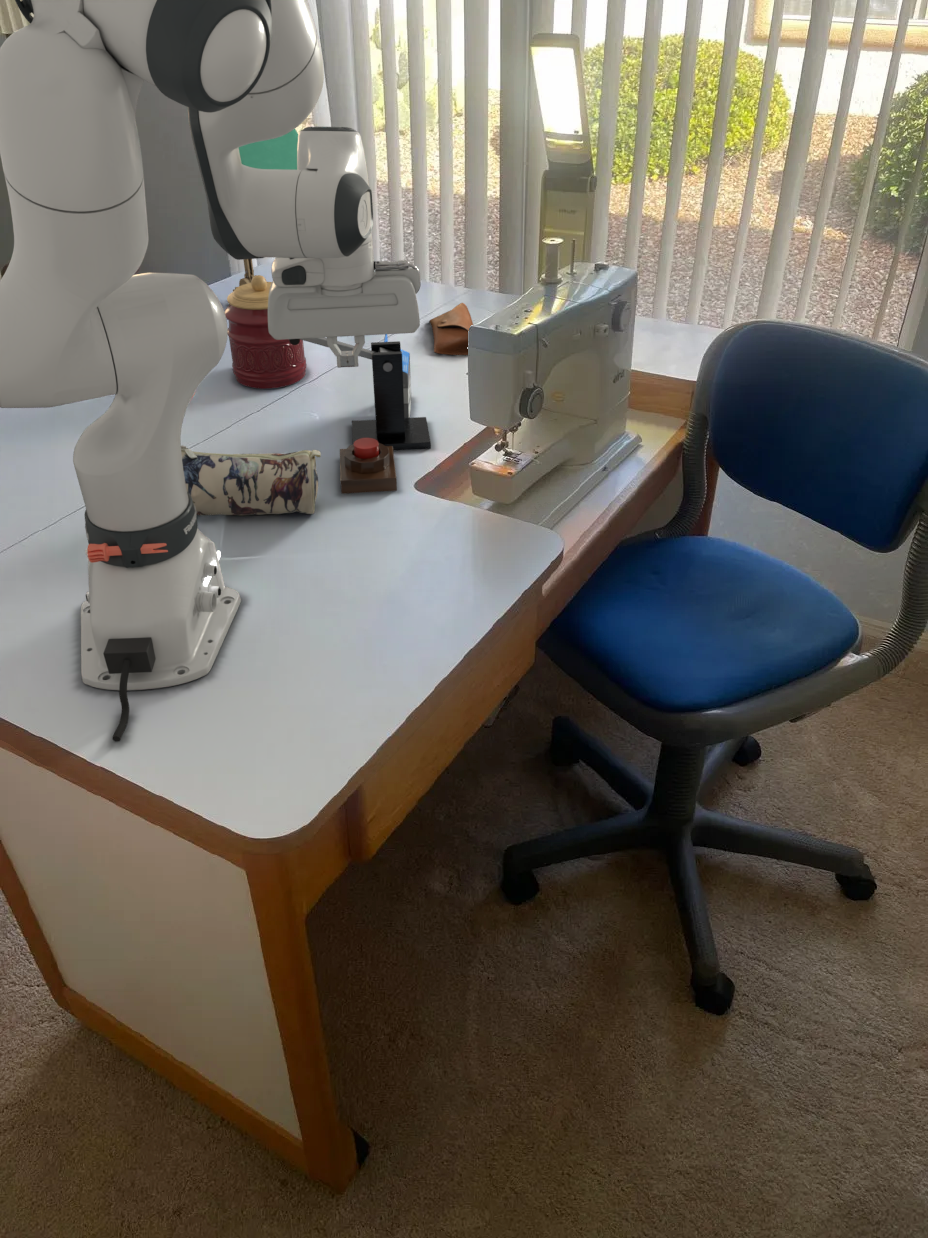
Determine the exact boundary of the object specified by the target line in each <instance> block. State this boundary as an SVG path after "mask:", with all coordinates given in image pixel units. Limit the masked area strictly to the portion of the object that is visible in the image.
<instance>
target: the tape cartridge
mask: <svg viewBox="0 0 928 1238" xmlns="http://www.w3.org/2000/svg"><path fill="white" fill-rule="evenodd" d="M388 337H389V336H388V334H384V337H383V338H384V339H383V342H389V339H388ZM401 352H402V366H403V391H404V415H405V418H411V411H412V410H411V409H412V381H411V379H412V376H411V353H410V352H409V351H406V350H404V349H402V348H401Z"/></svg>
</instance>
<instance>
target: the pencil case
mask: <svg viewBox="0 0 928 1238" xmlns="http://www.w3.org/2000/svg"><path fill="white" fill-rule="evenodd" d="M181 453H182V463H183V471H184V477H185V483H186V489H187V492H188V493H189V494H190V495H191V497H192V500H193V503H194V506H195V508H196V513H197V514H196V515H197V516H217V515H220V516H221V515H222V516H253V515H257V516H261V515H281V514H293V513H295V512H297V513H300V514H304V515H314V514H315V511H316V510H315V509H316V501H317V499H318V498H317V497H318V491H319V475H318V472H317V462H316V461H317V460H316V457H317V458H321V455H322V453H321V452H320V451H319V450H317V449H312V450H310V449H304V450H299V451H293V452H287V453H277V452H276V453H275V452H274V453H273V452H272V453H270V452H269V453H216V452H215V453H214V452H202V451H194V450H192V449H190V448H189V447H187V446H186V445H182V444H181Z"/></svg>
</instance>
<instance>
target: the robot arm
mask: <svg viewBox="0 0 928 1238" xmlns="http://www.w3.org/2000/svg"><path fill="white" fill-rule="evenodd" d="M14 1H15V3H16V5H17V8H18V9H19V11H20V13H21V15H23V17H24V18H25V20H26V21H27V22H28V23H29V24H28V25H25V26H24V27H21V28H19V29H17V30H15V31H14V32H12V33H11V34H10V35H9V36H8V37H7V38H5V40H4V41H3V43H2V45H0V159H1V166H2V171H3V175H4V180H5V185H6V189H7V195H8V199H9V205H10V206H9V207H10V213H11V220H12V230H13V250H12V254H11V258H10V261H9V263H8V266H7V268H6V270H5V272H4V274H3V275H2V277H1V279H0V408H1V409H46V408H47V409H48V408H49V409H50V408H55V407H60V406H65V405H68V404H74V403H79V402H84V401H89V400H94V399H98V398H103V397H108V396H109V397H110V396H113V395H114V398H113V400H112V402H111V404H110V406H109V407H108V408H107V410H106V411H105V412H104V413H103V414H101V416H99V417H98V418H96V419H95V420H94V421H93V422H92V423H90V424H89V425H88V426H87V427H86V428H85V429H84V430H83V431H82V433H81V434H80V436H79V438H78V439H77V442H76V444H75V446H74V449H73V455H72V463H73V467H74V470H75V474H76V479H77V481H78V486H79V489H80V492H81V496H82V500H83V503H84V506H85V507H84V508H85V511H84V522H85V523H84V529H85V530H84V531H85V536H86V538H87V542H88V545H87V548H86V549H85V550H84V553H85V556H86V560H87V575H88V591H86V593H85V600H84V601H83V602H82V603H81V605H80V672H81V673H80V675H81V680H82V683H83V684H85V685H86V686H89V687H92V688H96V689H100V690H107V691H118V693H119V701H120V706H121V715H120V719H119V723H118V725H117V727H116V728H115V731H114V733H113V735H112V740H113V741H114V742H115V743H118V742H120V741H121V739H122V736H123V734H124V732H125V730H126V728H127V725H128V722H129V718H130V702H129V698H128V691H141V690H143V691H144V690H151V689H152V690H153V689H162V688H168V687H169V688H170V687H173V686H179V685H182V684H187V683H190V682H192V681H195V680H198V679H200V678H203V677H205V676H207V674H209V673H210V672H211V670H212V667H213V665H214V663H215V662H216V659H217V657H218V655H219V652H220V650H221V648H222V645H223V644H224V641H225V638H226V637H227V635H228V632H229V630H230V627H231V625H232V623H233V621H234V618H235V616H236V614H237V612H238V610H239V608H240V605H241V603H242V598H241V595H240V592H239V591H237V590H236V589H234V588H232V587H228V586H226V585H225V580H224V576H223V573H222V568H221V565H220V558H221V556H222V555H221V551H220V550H217V548H216V544H215V542H214V541H213V540H211V539H210V538H209V537H207V536H206V535H205V534H204V533H203V532H202V531H200V529H199V528H198V527H199V524H198V518H197V516H198V515H196V514H197V513H196V508H195V506H194V503H193V500H192V497H191V495H190V494H189V493H188V492H187V489H186V483H185V477H184V471H183V463H182V453H181V446H182V442H181V441H182V440H181V437H182V429H183V428H182V427H183V423H184V419H185V415H186V412H187V409H188V407H189V405H190V402H191V399H192V398H193V396H194V394H195V392H196V390H197V389H198V388H199V386H200V384H201V383H202V382H203V381H204V379H205V378H206V376H207V375H209V373H210V372H212V370H214V368H215V367H217V365H218V364H219V363H220V361H221V360H222V357H223V355H224V353H225V350H226V347H227V342H228V328H229V327H228V319H227V318H226V316H225V312H224V311H225V309H224V307H223V305H222V303H221V301H220V299H219V297H218V296H217V295H216V293H215V292H214V290H213V289H212V288H211V287H210V286H209V285H208V283H206V282H205V281H203V280H202V279H201V278H199V277H198V276H197V275H195V274H189V273H188V274H187V273H174V272H143V273H138V274H137V271H138V270H139V268H140V267H141V265H142V263H143V261H144V259H145V256H146V254H147V250H148V246H149V225H148V214H147V203H146V202H147V199H146V190H145V176H144V165H143V164H144V163H143V156H142V149H141V142H140V141H141V140H140V135H139V131H138V126H137V122H136V121H137V120H136V113H137V106H138V101H139V97H140V93H141V90H142V87H143V85H144V82H147V83H149V84H151V85H152V86H153V87H156V88H157V90H158V91H159V92H160V93H162V95H164V96H165V97H167V99H170V100H172V101H174V102H175V103H177V104H180V105H182V106H183V107H186V108H187V117H188V125H189V129H190V130H189V131H190V135H191V140H192V146H193V149H194V153H195V157H196V161H197V165H198V169H199V173H200V177H201V181H202V186H203V188H204V189H203V190H204V193H205V198H206V203H207V212H208V220H209V225H210V230H211V235H212V237H213V239H214V240H215V242H216V244H217V245H219V247H220V248H221V249H223V250H224V252H225V253H227V254H228V255H229V256H230V257H232V258H233V259H235V260H238V261H240V260H241V261H244V260H243V259H252V260H257V259H264V258H274V260H273V261H272V265H271V267H270V268H271V272H270V273H271V279H272V281H271V282H272V283H271V286H270V290H269V297H268V330H269V334H270V335H271V336H272V337H273V338H274V339H276V340H282V339H302V338H322V337H325V338H327V345H328V346H329V347H328V348H329V350H331V352H332V354H333V355H334V357H336V366H337V367H336V368H338V369H339V368H340V369H341V368H358V367H359V356H358V355H359V353H360V351H361V349H362V348H364V346H365V343H366V339H365V337H366V336H379V335H381V336H382V335H383V336H384V335H385V334H387V335H400V334H414V333H416V332H417V331H418V329H419V328H420V326H421V319H420V310H419V304H418V303H419V302H418V298H417V294H418V293H419V291H420V289H421V272H420V270H419V268H418V267H417V266H416V265H415V264H413V263H411V262H410V263H409V261H408V260H405V259H402V260H401V259H400V260H395V261H390V260H389V261H388V260H379V261H378V260H376V261H375V257H374V243H373V241H374V240H373V233H372V232H373V228H374V207H373V206H374V204H373V191H372V188H371V187H370V180H369V173H368V166H367V165H368V164H367V160H366V154H365V148H364V144H363V140H362V136H361V133H360V132H358V131H357V130H356V129H354V128H352V127H348V126H307V127H304V128H303V129H301V130H300V131H298V143H297V170H281V169H257V168H252V167H248V166H245V165H243V164H242V163H241V158H240V153H239V147H241V146H244V145H247V144H250V143H254V142H259V141H264V140H269V139H274V138H278V137H281V136H283V135H285V134H287V133H289V132H291V131H292V130H294V129H295V130H296V128H298V127H299V126H301V124H303V122H304V121H306V120H307V118H308V117H309V116H310V115H311V113H312V112H313V111H314V109H315V107H316V105H317V103H318V102H319V99H320V97H321V94H322V91H323V87H324V81H325V80H324V79H325V72H324V71H325V70H324V58H323V51H322V46H321V40H320V37H319V33H318V29H317V25H316V23H315V19H314V16H313V12H312V10H311V7H310V4H309V1H308V0H14ZM31 14H33V16H32V15H31ZM339 337H340V338H342V337H353V339H354V345H353V346H354V348H353V351H341V350H340V349H339V347H338V346H337V341H338V338H339Z"/></svg>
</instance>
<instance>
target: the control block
mask: <svg viewBox="0 0 928 1238" xmlns="http://www.w3.org/2000/svg"><path fill="white" fill-rule="evenodd" d="M378 444H379V455H378V456H377V457H374V458H370V459H361V458H357V457H355V455H354V444H353V443H352V444H351V445H348V446H347V447H346V448H339V476H340V477H339V480H340V493H341V494H342V495H343V494H344V495H345V494H361V493H363V494H364V493H379V492H380V493H381V492H397V491H398V482H397V471H396V463H395V455H394V454H395V453H394V451H393V446H385V445H383V444H381V443H378Z"/></svg>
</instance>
